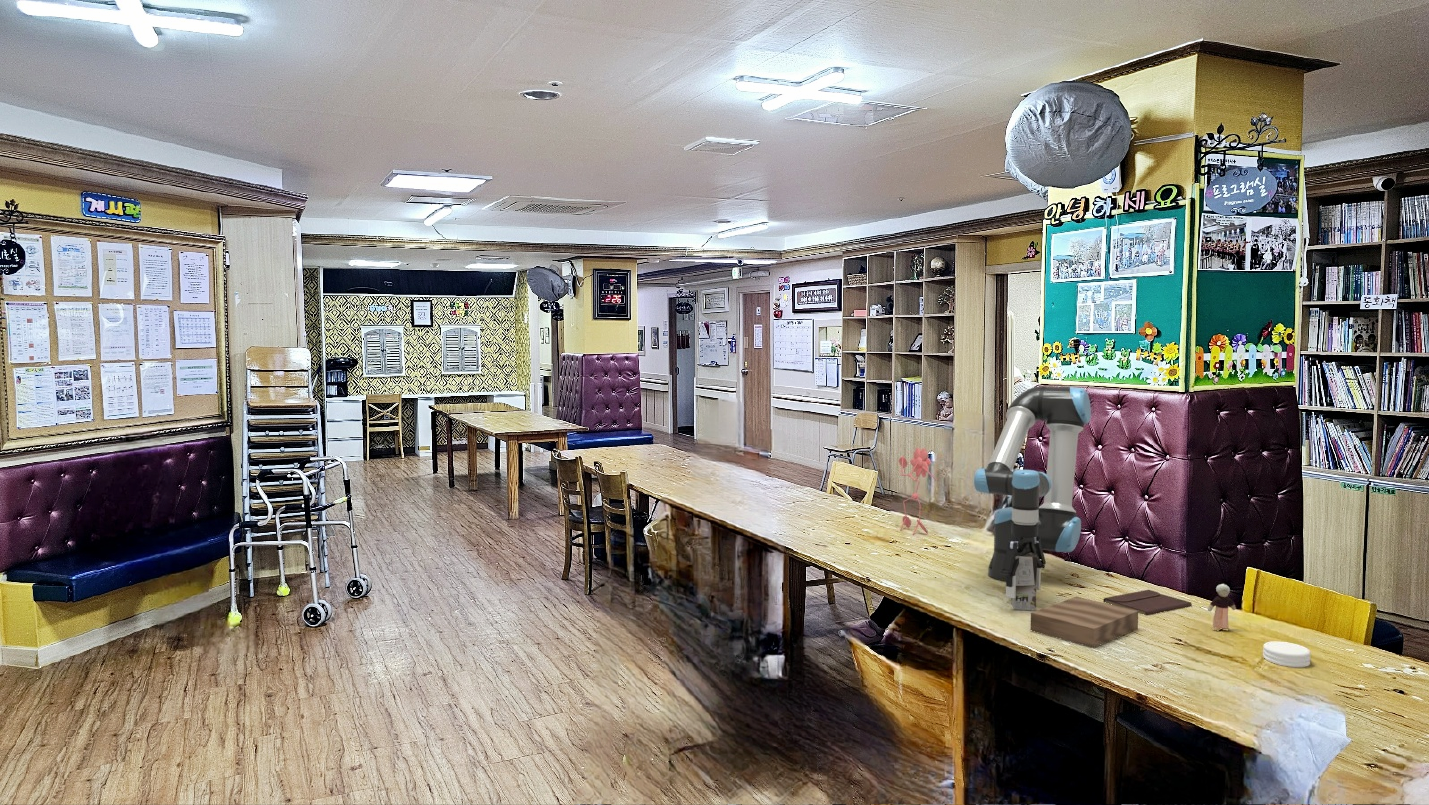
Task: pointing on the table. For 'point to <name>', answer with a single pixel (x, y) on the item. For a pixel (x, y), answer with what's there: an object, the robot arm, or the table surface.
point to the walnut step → (1084, 621)
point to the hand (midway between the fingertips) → (1023, 593)
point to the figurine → (919, 467)
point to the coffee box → (1026, 582)
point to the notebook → (1147, 602)
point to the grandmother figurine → (1221, 607)
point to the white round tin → (1286, 654)
